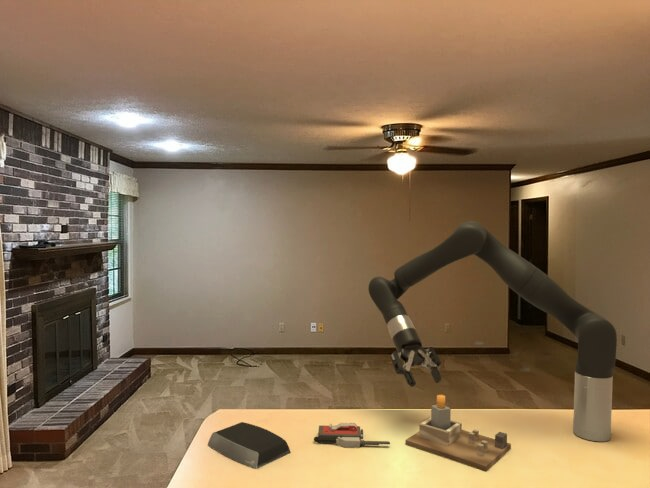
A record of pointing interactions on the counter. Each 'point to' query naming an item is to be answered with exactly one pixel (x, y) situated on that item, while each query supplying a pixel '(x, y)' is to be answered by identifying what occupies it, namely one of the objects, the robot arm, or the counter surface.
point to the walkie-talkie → (344, 436)
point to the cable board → (460, 444)
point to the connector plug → (440, 414)
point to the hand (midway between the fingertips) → (426, 383)
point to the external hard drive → (249, 444)
